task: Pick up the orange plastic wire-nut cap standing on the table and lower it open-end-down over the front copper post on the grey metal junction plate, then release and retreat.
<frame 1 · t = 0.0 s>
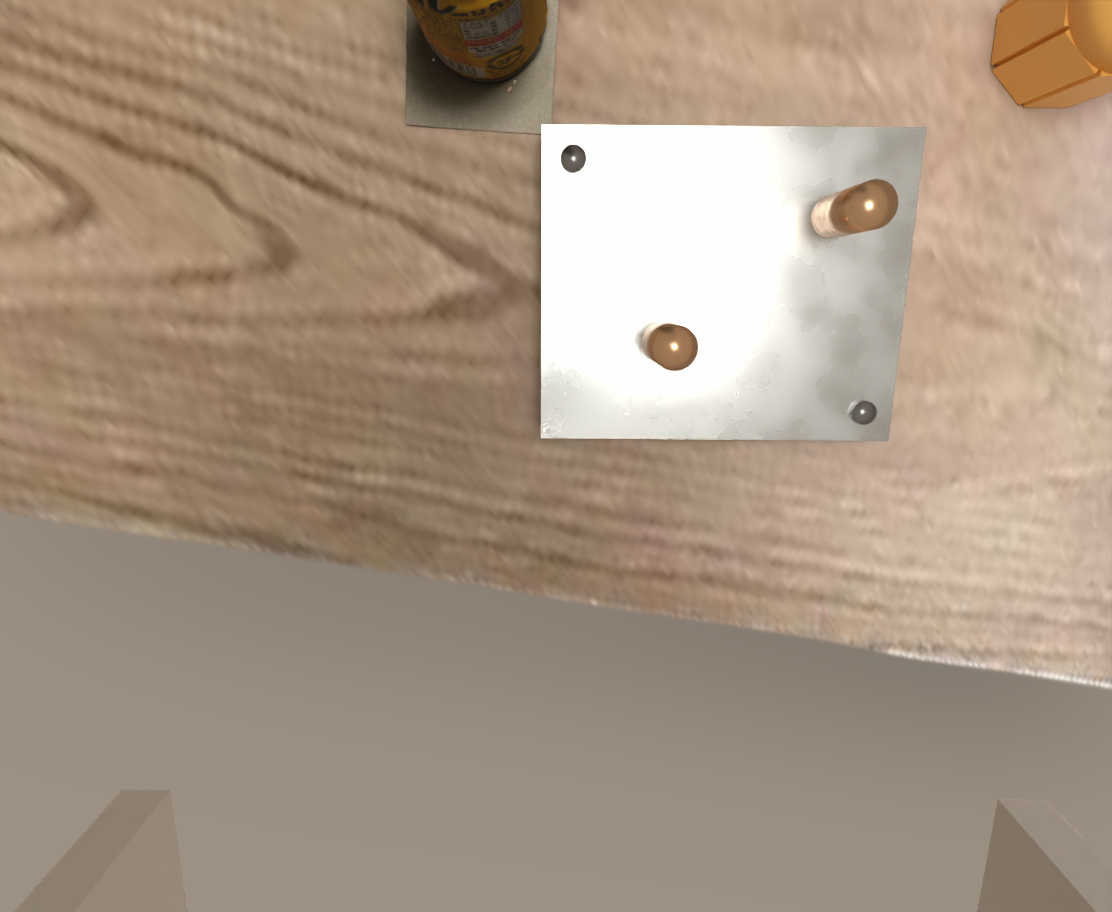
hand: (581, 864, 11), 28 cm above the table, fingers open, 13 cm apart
wire nut: (1055, 40, 33), on the table
condiment: (482, 39, 34), on the table
junction plate: (712, 291, 36), on the table
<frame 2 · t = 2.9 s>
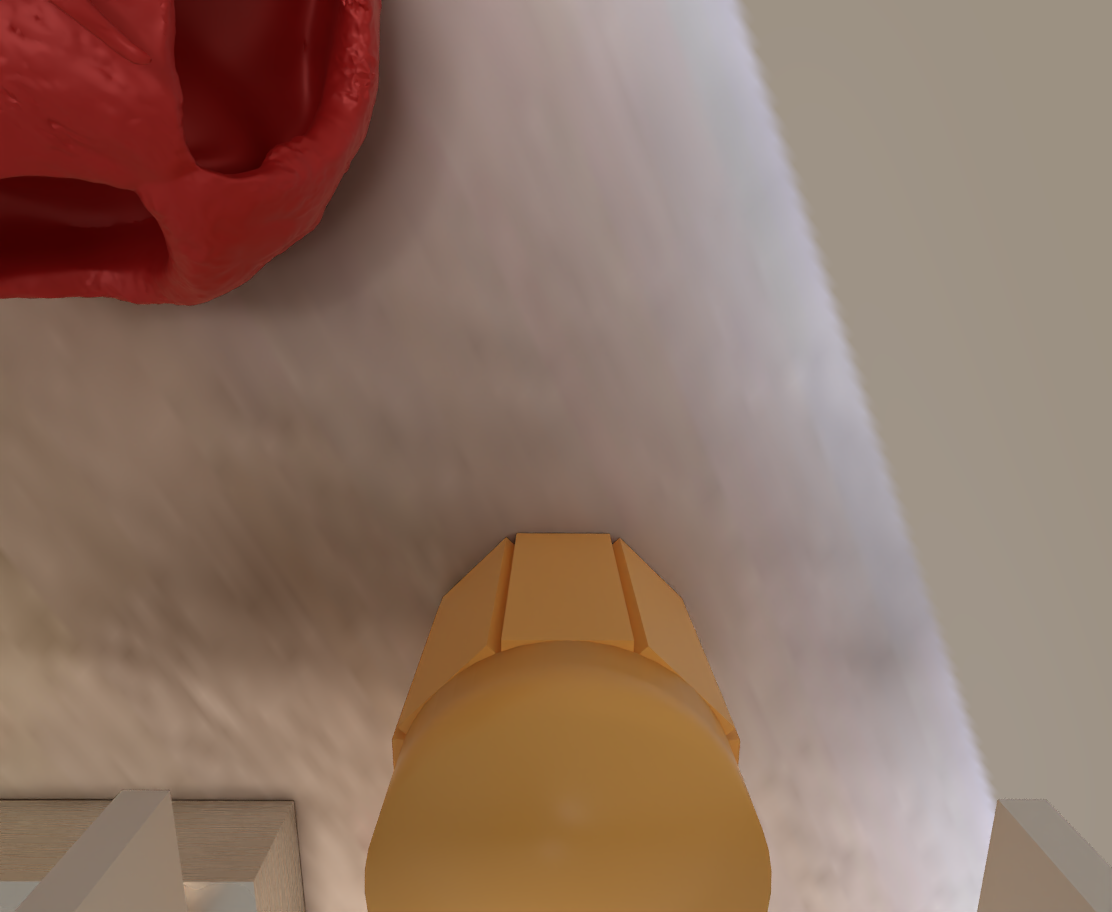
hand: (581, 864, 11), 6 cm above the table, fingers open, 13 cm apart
wire nut: (561, 647, 17), on the table
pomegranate: (176, 65, 14), on the table
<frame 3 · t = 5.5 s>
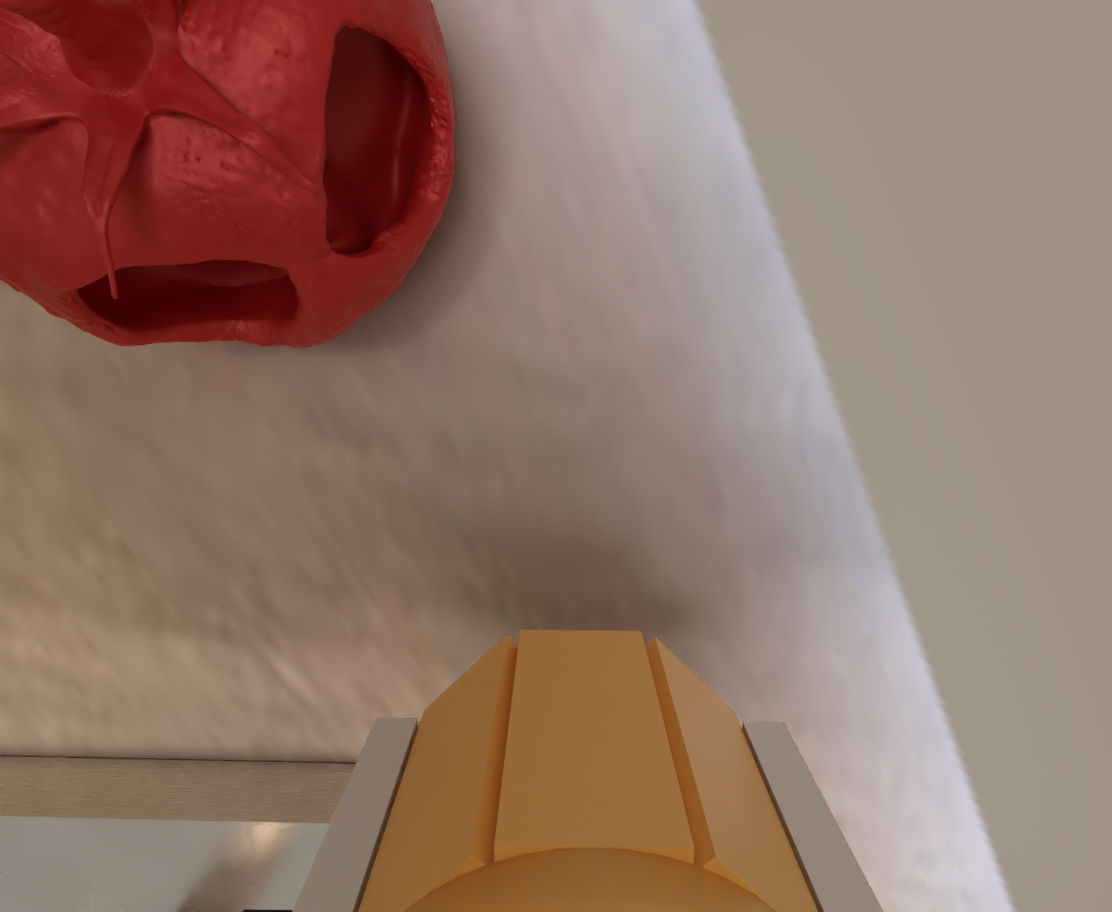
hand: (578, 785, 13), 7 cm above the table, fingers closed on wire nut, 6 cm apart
wire nut: (578, 773, 13), point 7 cm above the table, touching gripper
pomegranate: (286, 156, 18), on the table
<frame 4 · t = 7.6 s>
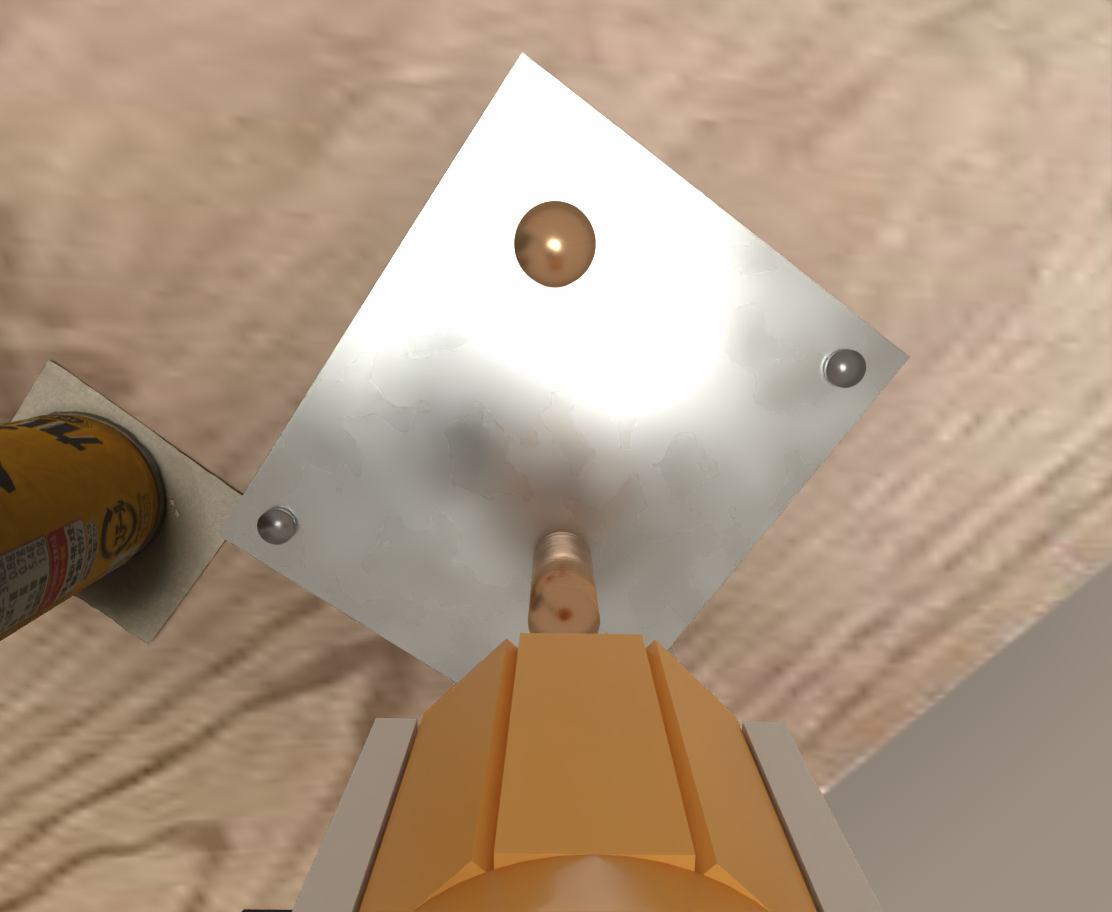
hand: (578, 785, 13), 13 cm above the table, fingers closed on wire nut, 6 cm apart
wire nut: (578, 777, 13), point 13 cm above the table, touching gripper
condiment: (109, 504, 26), on the table
junction plate: (553, 433, 25), on the table
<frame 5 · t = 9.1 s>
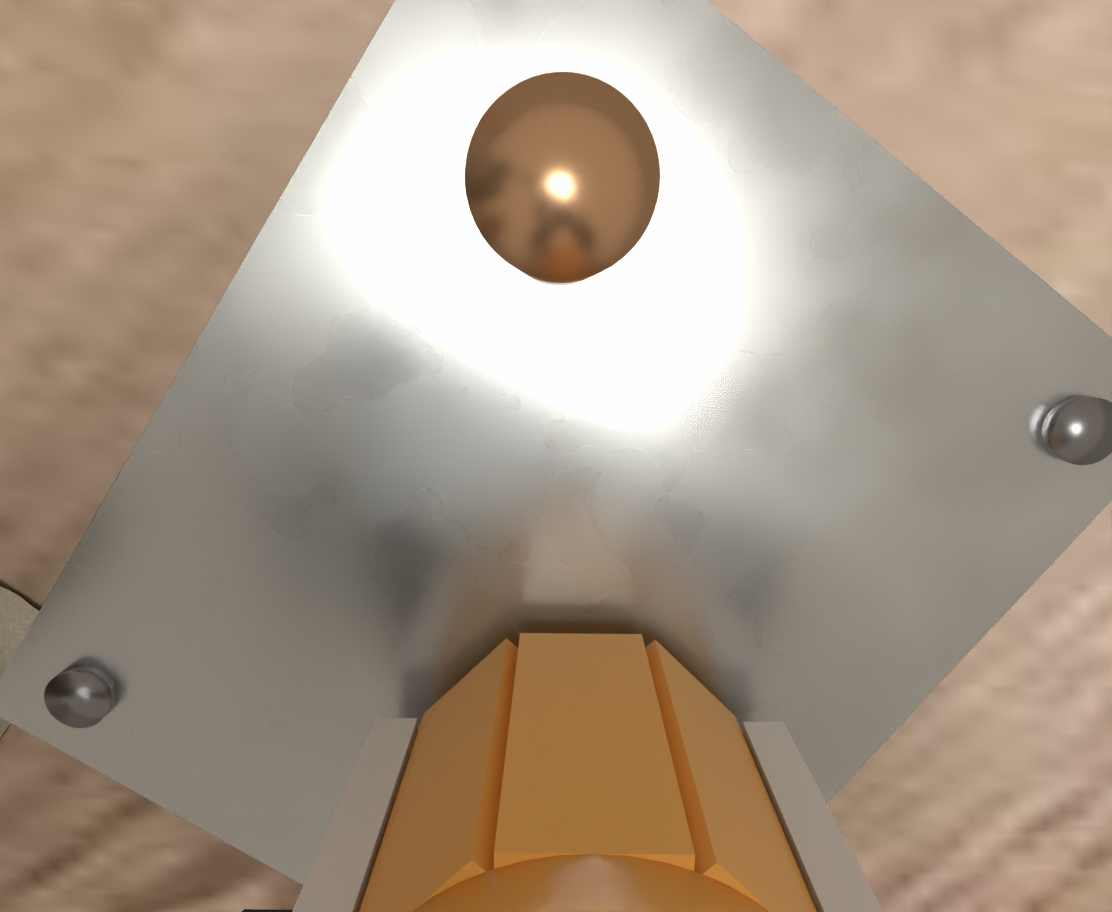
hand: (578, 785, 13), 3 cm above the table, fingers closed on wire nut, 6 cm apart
wire nut: (578, 777, 13), point 3 cm above the table, touching gripper
junction plate: (556, 522, 15), on the table
when the fingers open (3 cm above the table, at t = 9.9 s): wire nut stays where it is, resting on junction plate.
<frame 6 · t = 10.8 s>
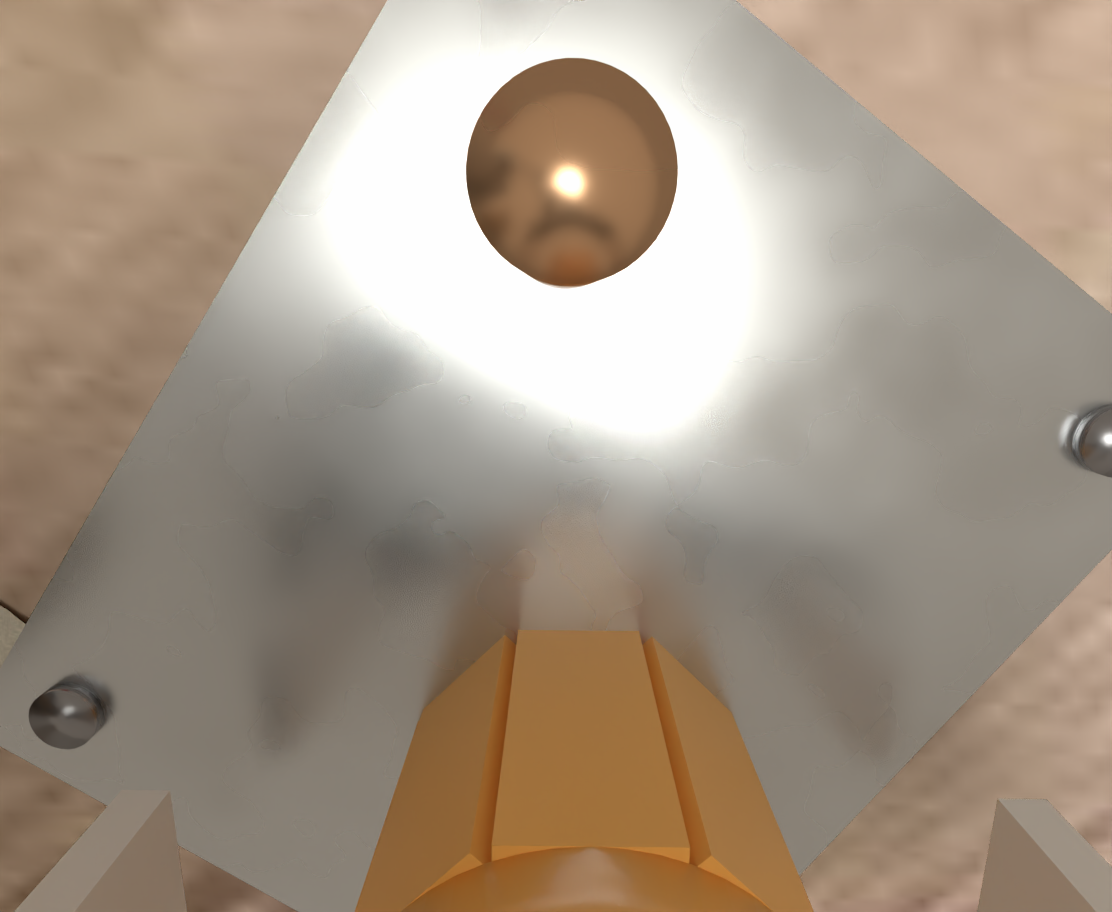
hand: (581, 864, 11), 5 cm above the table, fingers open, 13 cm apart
wire nut: (576, 773, 13), point 2 cm above the table, touching junction plate
junction plate: (562, 534, 15), on the table
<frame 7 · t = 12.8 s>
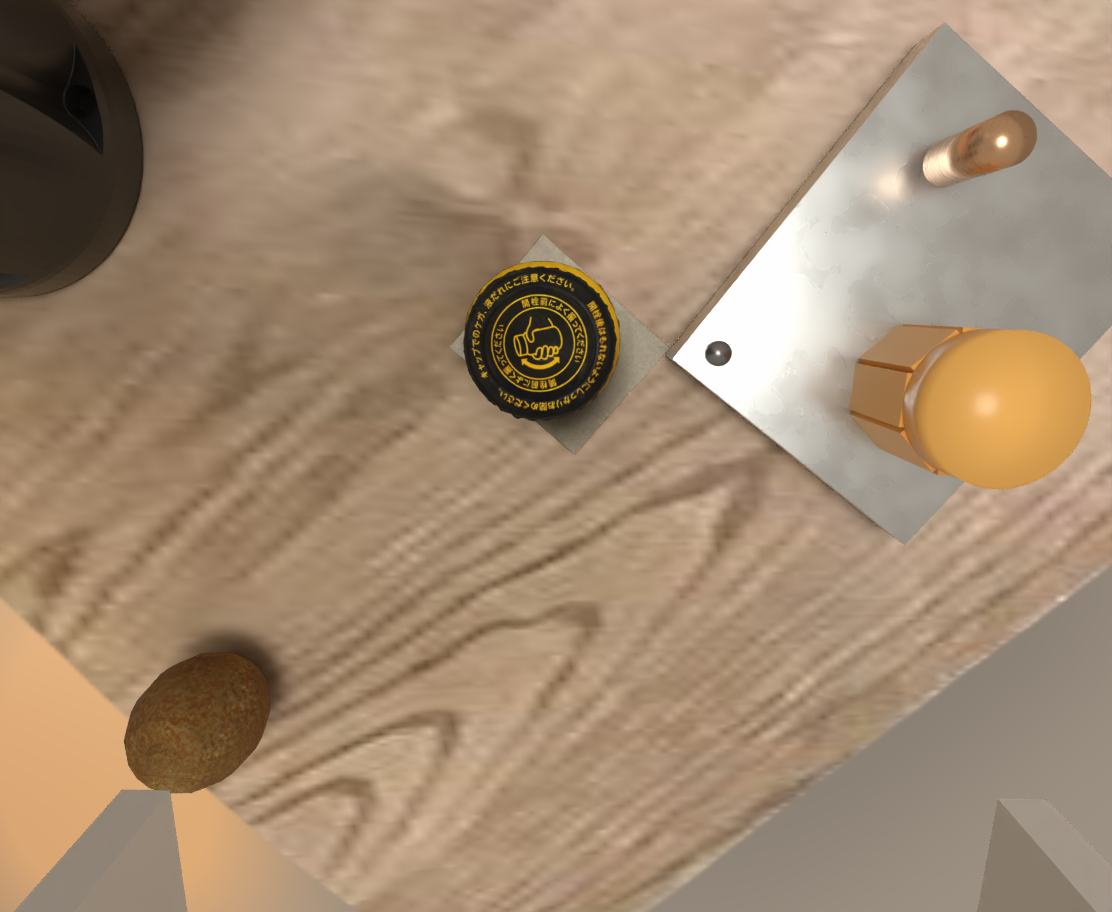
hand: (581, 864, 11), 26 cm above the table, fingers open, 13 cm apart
wire nut: (915, 389, 32), point 2 cm above the table, touching junction plate
fruit: (240, 676, 39), on the table
condiment: (559, 347, 35), on the table
junction plate: (897, 304, 34), on the table
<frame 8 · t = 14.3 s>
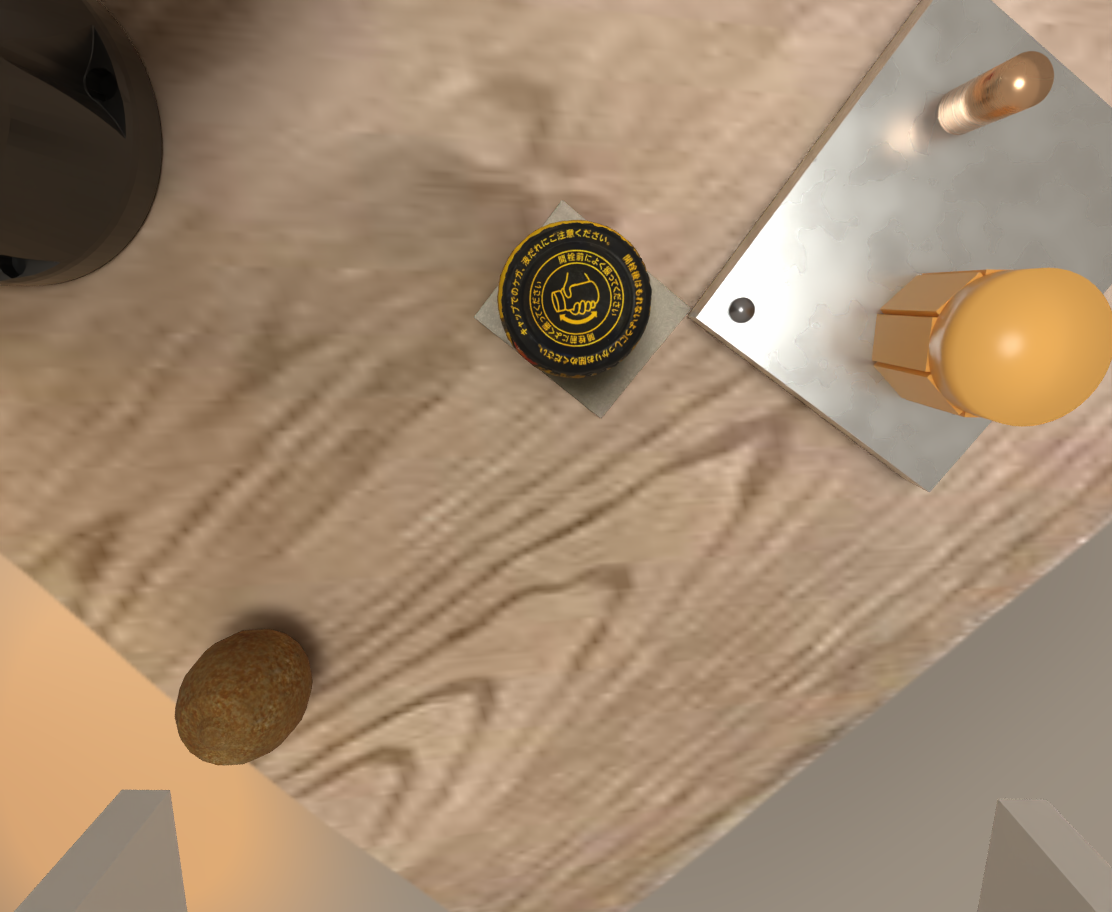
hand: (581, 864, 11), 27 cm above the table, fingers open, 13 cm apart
wire nut: (936, 338, 33), point 2 cm above the table, touching junction plate
fruit: (279, 652, 40), on the table
condiment: (582, 312, 35), on the table
junction plate: (914, 255, 34), on the table
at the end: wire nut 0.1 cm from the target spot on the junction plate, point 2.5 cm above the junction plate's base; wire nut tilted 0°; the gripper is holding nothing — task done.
